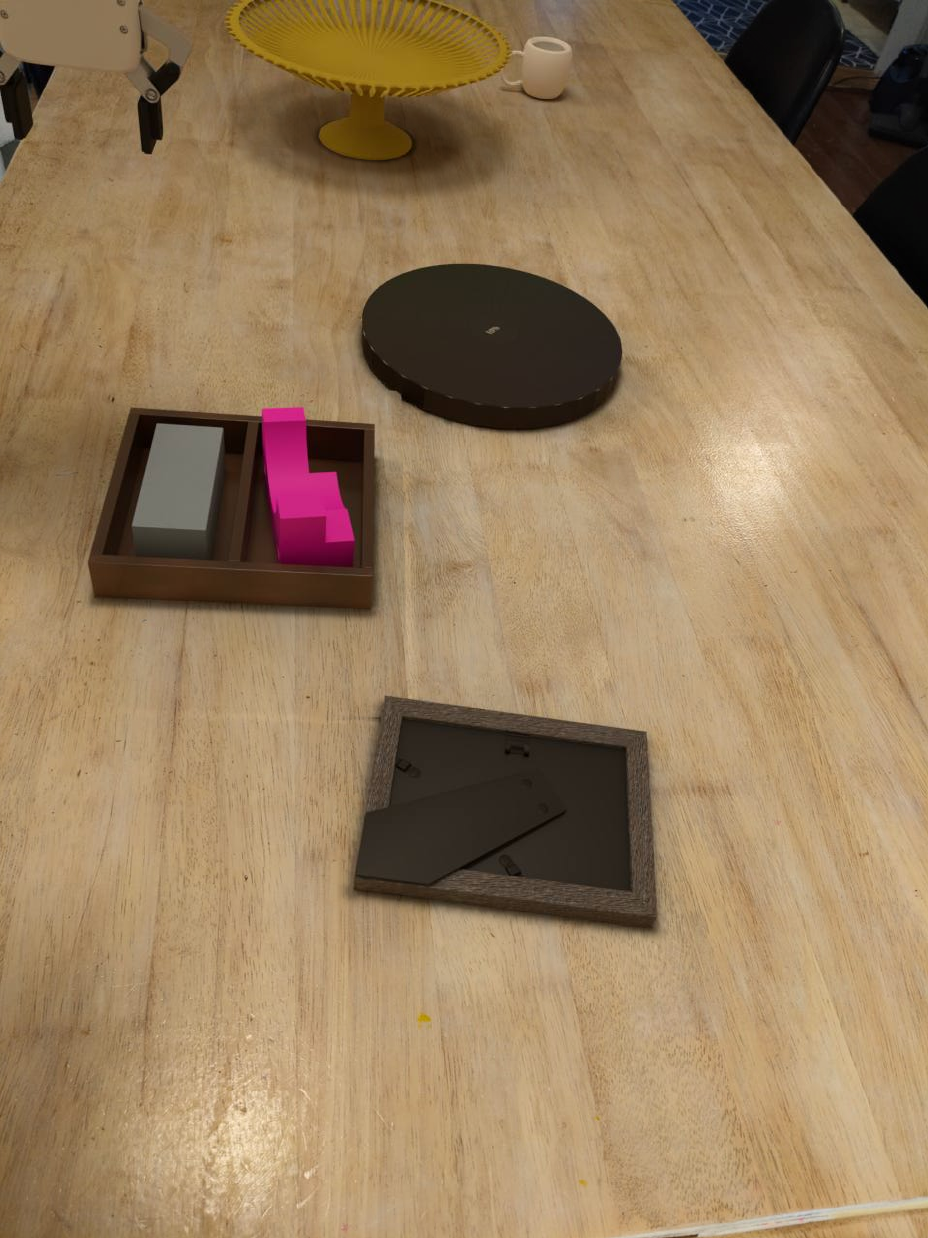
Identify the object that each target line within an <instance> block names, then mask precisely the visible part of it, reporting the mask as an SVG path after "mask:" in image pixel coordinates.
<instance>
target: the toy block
mask: <svg viewBox="0 0 928 1238" xmlns="http://www.w3.org/2000/svg"><path fill="white" fill-rule="evenodd" d="M261 416H262V442H263V474H264V481H265V487H266V493H267V499H268V506H269V512H270V518H271V524H272V530H273V537H274V543H275V549H276V555H277V562H278V564H294V565H314V566H334V567H353V560H354V544H355V540H354V535H353V531H352V527H351V523H350V518H349V514H348V510H347V509H345V507H344V506H343V503H342V500H341V496H340V492H339V487H338V481H337V473H336V472H323V473H309V467H308V456H307V440H306V419H307V418H306V414H305V409H304V406H294V407H293V406H291V407H269V408H268V407H266V408H261Z"/></svg>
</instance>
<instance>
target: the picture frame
mask: <svg viewBox="0 0 928 1238" xmlns="http://www.w3.org/2000/svg"><path fill="white" fill-rule="evenodd" d="M380 716H381V717H380V722H379V729H378V735H377V740H376V746H375V753H374V759H373V765H372V771H371V777H370V783H369V788H368V794H367V801H366V806H365V811H364V812H365V813H364V819H363V825H362V831H361V836H360V842H359V848H358V853H357V854H358V855H357V860H356V866H355V872H354V878H353V889H354V890H360V891H369V892H375V893H376V892H377V893H385V894H392V895H399V896H407V897H415V898H421V899H422V898H423V899H430V900H437V901H445V902H453V903H454V902H455V903H461V904H467V905H475V906H482V907H483V906H484V907H490V908H498V909H504V910H513V911H522V912H529V913H536V914H545V915H552V916H561V917H568V918H575V919H582V920H590V921H599V922H605V923H606V922H607V923H612V924H620V925H621V924H622V925H629V926H636V927H642V928H643V927H644V928H652V927H653V925H654V924H655V922H656V920H657V918H658V906H657V890H656V888H657V887H656V872H655V855H654V853H655V852H654V838H653V835H654V834H653V819H652V817H653V816H652V802H651V785H650V770H649V769H650V768H649V751H648V749H649V748H648V733H647V731H646V730H645V731H643V730H638V729H632V728H624V727H617V726H608V725H601V724H595V723H587V722H580V721H572V720H567V719H566V720H565V719H560V718H559V719H558V718H551V717H543V716H536V715H529V714H521V713H516V712H515V713H514V712H506V711H502V710H501V711H500V710H494V709H486V708H478V707H471V706H464V705H457V704H450V703H441V702H434V701H430V700H429V701H427V700H421V699H415V698H414V699H413V698H406V697H399V696H393V695H392V696H391V695H384V699H383V703H382V710H381V715H380Z"/></svg>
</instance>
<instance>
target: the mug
mask: <svg viewBox="0 0 928 1238" xmlns="http://www.w3.org/2000/svg"><path fill="white" fill-rule="evenodd" d="M510 51H511V52H513V53H512V54H510V55H509V56H511V57H513V56H518V57H521V60H520V79H518V80H516V81H509V80H508V79H507V78H506V74H505V68H506V67H504V68H502V69H501V70H503V71H501V72H499V77H500V80H501V82H502V83H503V84H504V85H505V86H508V87H513V88H514V87H518V86H519V85H522V88H523V90H524V92H525V93H526V94H527V95H529V96H530V97H533V98H537V99H541V100H553V99H557V98H558V97H559V96H560V95H561V94H562V93H563V91H564V90H565V88H566V85H567V83H568V80H569V78H570V74H571V70H572V64H573V48H572V46H571V45H570V44H568V43H567V42H566V41H563V40H562V39H559V38H556V37H551V36H534V37H531V38H528V39H527V41H526V43H525V44H524V47H523V50H522V51H521V50H518V49H517V50H510ZM505 65H506V66H507V64H505Z"/></svg>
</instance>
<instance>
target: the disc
mask: <svg viewBox="0 0 928 1238" xmlns="http://www.w3.org/2000/svg"><path fill="white" fill-rule="evenodd" d="M360 321H361V338H360V339H361V346H362V353H363V356H364V359H365V361H366V362H367V364H368V366H369V368H370V370H371V371H372V372H373V373H374V375H375V376H376V377H377V379H379V380H380V382H382V384H383V385H385V386H386V387H387V388H389V389H390V390H391V391H392V392H397V393H398V394H399V395H400V397H401V398H402V399H404V400H405V401H408V402H409V403H411V404H413V405H415V406H416V407H419V408H420V409H422V410H424V411H427V412H430V413H431V414H432V413H433V414H435V415H437V416H440V417H442V418H445V419H448V420H452V421H457V422H461V423H465V424H469V425H473V426H479V427H489V428H495V429H516V430H517V429H521V430H522V429H526V430H527V429H529V430H530V429H536V428H537V429H538V428H544V427H553V426H556V425H560V424H564V423H567V422H571V421H574V420H576V419H578V418H581V417H582V416H584V415H587V414H589V413H591V412H592V411H594V410H595V409H596V408H597V407H599V406H601V404H602V403H603V402H605V401H606V399H607V398H608V397H609V395H610V394H611V392H612V390H613V389H614V387H615V383H616V380H617V376H618V372H619V368H620V367H621V363H622V358H623V353H624V352H623V345H622V339H621V336H620V335H619V333H618V330H617V329H616V326H615V325H614V323H612V321H611V319H610V318H609V317H608V316H607V315H606V314H605V312H604V311H602V310H601V309H600V308H598V307H597V306H596V305H595V304H594V303H593V302H592V301H590V300H589V299H587V298H586V297H585V296H583V295H581V294H579V293H578V292H576V291H575V290H573V289H571V288H570V287H567V286H565V285H562V284H560V283H559V282H556V281H554V280H552V279H549V278H546V277H543V276H541V275H538V274H534V273H531V272H527V271H523V270H519V269H516V268H511V267H507V266H499V265H492V264H485V263H460V262H459V263H445V264H434V265H429V266H424V267H419V268H418V267H417V268H415V269H412V270H408V271H405V272H403V273H400V274H397V275H396V276H393V277H392V278H390V279H388V280H386V281H384V282H382V283H381V285H379V286H378V287H377V288H376V289H374V290H373V292H371V293H370V295H369V297H368V298H367V299H366V301H365V303H364V304H363V309H362V314H361V319H360Z"/></svg>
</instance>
